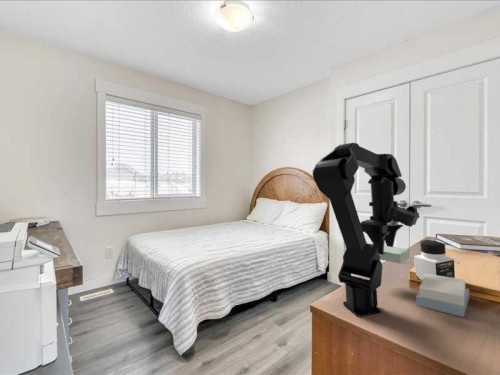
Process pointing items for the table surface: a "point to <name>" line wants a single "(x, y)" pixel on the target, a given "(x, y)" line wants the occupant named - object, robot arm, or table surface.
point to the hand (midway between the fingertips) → (385, 251)
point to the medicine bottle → (433, 260)
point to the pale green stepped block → (394, 254)
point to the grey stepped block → (443, 294)
